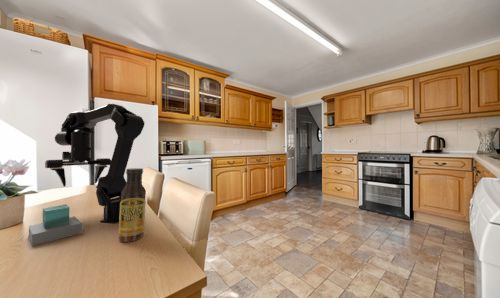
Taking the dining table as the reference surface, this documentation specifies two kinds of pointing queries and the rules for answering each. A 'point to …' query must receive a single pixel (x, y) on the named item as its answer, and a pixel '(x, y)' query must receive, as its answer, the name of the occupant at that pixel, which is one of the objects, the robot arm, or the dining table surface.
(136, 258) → the dining table surface
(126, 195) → the sauce bottle
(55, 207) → the teal cube
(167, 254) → the dining table surface
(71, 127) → the robot arm
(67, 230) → the gray plinth
